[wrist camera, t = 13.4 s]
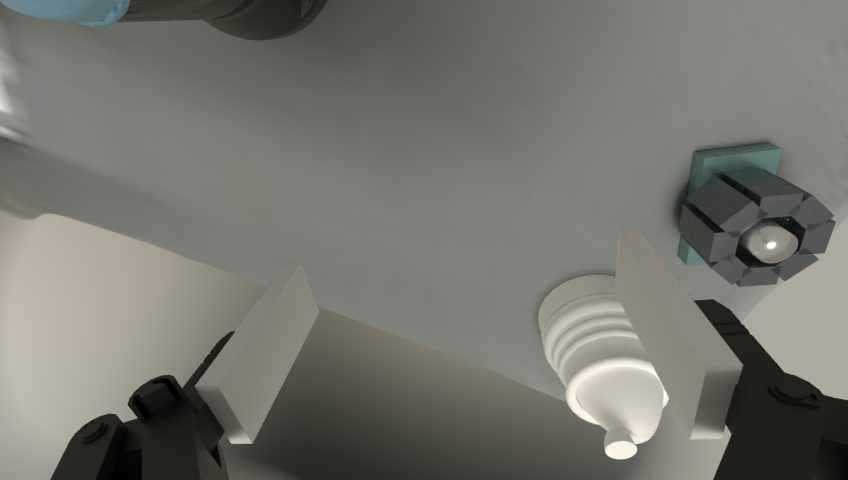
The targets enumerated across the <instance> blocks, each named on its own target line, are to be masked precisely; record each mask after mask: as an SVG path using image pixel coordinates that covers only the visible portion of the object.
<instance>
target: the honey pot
mask: <svg viewBox="0 0 848 480" xmlns="http://www.w3.org/2000/svg"><path fill="white" fill-rule="evenodd" d="M614 289H615V277H614V276H610V275H595V274H593V275H587V276H581V277H577V278H574V279H571V280H569V281H566V282H564V283H562V284H561V285H559V286H558V287H556V288H555V289H553V290H552V291H551V292H550V293H549V295H548V296H547V297H546V298H545V299H544V301H543V303H542V305H541V307H540V309H539V315H538V322H539V327H540V332H541V337H542V342H543V346H544V351H545V356H546V358H547V360H548V362H549V363H550V365H551V367H552V368H553V370H555V371H556V372H557V374H558V376H559V377H560V379H561V381H562V382H563V384H564V386H565V387H566V391H565V394H566V400H567V403H568V405H569V406H570V408H571V410H572V411H573V412H574V413H575V414H577V415H578V416H579V417H580V418H582V419H584V420H586V421H588V422H590V423H594V424H598V425H601V426H602V427H603V428H604V429H606V430H607V431H608V432H607V433H606V436H605V440H604V447H605V452H606V454H607V455H608V456H609V457H611V458H614V459H625V458H630V457H632V456H633V455H634V454H635V453H636V452H637V447H636V445H635V444H639V443H642V442H645V441H647V440H649V439H650V438H651V437H652V435H653V434H654V433H655V431H656V429H657V427H658V424H659V422H660V418H661V414H662V409H663V407H664V406H665V405H666V404H667V402H668V400H669V397H668V395H667V393H666V391H665V389H664V387H663V385H662V383H661V381H660V379H659V377H658V375H657V373H656V371H655V369H654V367H653V366H652V364H651V362H650V360H649V358H648V356H647V354H646V352H645V350H644V348H643V346H642V344H641V342H640V340H639V338H638V336H637V334H636V332H635V330H634V328H633V326H632V324H631V323H630V321H629V319H628V317H627V315H626V313H625V311H624V309H623V307H622V305H621V303H620V301H619V299H618V297H617V295H616V293H615V291H614ZM577 400H578V401H577ZM578 402H579V403H580V404H581V405H582V406H583V407H582V406H581V405H580V404H579V403H578Z"/></svg>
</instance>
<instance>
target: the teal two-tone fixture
mask: <svg viewBox="0 0 848 480" xmlns="http://www.w3.org/2000/svg"><path fill="white" fill-rule="evenodd" d="M781 153H782V148H779V147H777V146H775V145H773V144H770V143H761V144H753V145H745V146H737V147H729V148H721V149H713V150H705V151H697V152H694V156H693V163H692V169H691V175H690V182H689V188H688V195H687V197H689V196H690V195H691V194H692V193H693V192H695V191H696V190H697V189H698V188H699V187H701V186H702V185H703V184H704V183H705V182H707V181H708V180H709V179H710V178H711V177H713V176H714V175H715V176H716V177H718V178H719V179H721V174H722V172H725V171H733V170H742V169H751V168H759V169H761V170H767V171H768V172H770V173H772V174H774V175H776V172H777V168H778V164H779V160H780V157H781ZM690 203H691V202H690V201H689V200H688V199H687V201H686V204H690ZM681 235H682V234H681ZM738 244H740V245H741V246H742V247H743V248H744V249H745V250H747V251H748V252H749V253H750V254H751V255H755V256H756V257H757V258H758V259H759V260H760V261H762V262H764V263H778V262H781V261H784V260H786V259H787V258H789V257H790V256H791V255H792V254H793V253H794V252H795V251H796V249H797V247H798V240H797V238H796V237H795V236H794V235H793V234H791V233H790V232H788V231H787V230H785V229H784V228H783V227H781V226H780V225H778V224H777V223H775V222H774V221H772V220H771V219H770V218H763V219H761V220H760V221H759V222H757V223H756V224H755V225H753V226H752V227H750V228H749V229H748V230H746V231H745V232H744V233H742V234H741V235H740V236H739V240H738ZM678 256H679V258H680V259H681V260H682V261H683V262H684V263H685V265H699V264H707V263H706V262H705V261H704V260H703V259H702V258H701V257H700V256H699V255H698V254H697V253H696V251H695V250H694V249H693V248H692V247H691V246H690V245H689V244H688V243H687V242H686V241H685V240H684V239H683V238H682V237H681V239H680V246H679V252H678Z"/></svg>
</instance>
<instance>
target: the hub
mask: <svg viewBox="0 0 848 480" xmlns="http://www.w3.org/2000/svg"><path fill="white" fill-rule="evenodd" d="M687 199H688V200H689V201H690V202H691V203H690V204H683V206H682V213H681V219H680V226H679V231H680V232H681V234H682V235H681V237H682V238H683V239H684V240H685V241H686V242H687V243H688V244H689V245H690V246H691V247H692V248H693V249H694V250H695V251H696V253H697V254H698V255H699V256H700V257H701V258H702V259H703V260H704V261H705V262H706V263H707V264H708V265H709V266H710V267H711V268H712V269H713V270H714V271H715V272H717V273H718V274H719V275H720V276H722V277H723V278H724V279H725V280H727V281H728V282H729V283H730V284H732V285H733V284H734V283H736V284H737V285H738V286H739V287H742V286H757V285H771V284H776V283H777V280H778V277H780V278H781V279H783V280H784V281H786V280H788V279H789V278H791V277H792V276H794V275H795V274H797V273H798V272H800V271H801V270H803V269H805V268H806V267H808V266H809V265H811V264H813V263H814V262H816V261H817V260H818V258H817V257H815V256H814V255H813V254H819V253H825V250H826V248H827V245H828V242H829V239H830V236H831V234H832V231H833V228H834V226H835V223H836V222H835V221H833V220H831V219H830V218H832V217H833V216H834V215H833V214H832V213H831V212H830V211H829V210H828V209H827V208H826V207H825V206H824V205H823V204H821V203H820V202H819V201H818V200H817V199H816V198H815V197H814V196H813V195H811V194H810V193H808V192H806V191H804V190H802V189H800V188H798V187H796V186H795V185H793V184H791V183H789V182H787V181H785V180H783V179H782V178H780V177H778V176H776V175H774V174H772V173H770V172H768V171H767V170H761V169H759V168H751V169H742V170H733V171H725V172H722V174H721V179H719V178H718V177H716V176H715V175H714V176H713V177H711V178H710V179H709V180H708V181H707V182H705V183H704V184H703V185H702V186H701V187H699V188H698V189H697V190H696V191H695V192H693V193H692V194H691V195H690V196H689V197H687ZM763 218H770V219H771V220H772V221H774V222H775V223H777V224H778V225H780V226H781V227H783V228H784V229H785V230H787V231H788V232H790V233H791V234H793V235H794V236H795V237H796V238H797V240H798V247H797V249H796V251H795V252H794V253H793V254H792V255H791V256H790V257H789V258H787V259H786V260H784V261H781V262H778V263H764V262H762V261H760V260H759V259H758V258H757V257H756V256H755V255H751V254H750V253H749V252H748V251H747V250H745V249H744V248H743V247H742V246H741V245H740V244H738V240H739V236H740V235H741V234H742V233H744V232H745V231H746V230H748V229H749V228H750V227H752V226H753V225H755V224H756V223H757V222H759V221H760V220H761V219H763Z"/></svg>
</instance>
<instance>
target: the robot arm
mask: <svg viewBox="0 0 848 480" xmlns="http://www.w3.org/2000/svg"><path fill="white" fill-rule="evenodd" d="M326 1H327V0H0V2H1V3H3V4H4V5H5V6H7V7H8V8H11V9H13V10H15V11H17V12H20V13H23V14H26V15H29V16H32V17H35V18H40V19H45V20H51V21H66V22H77V23H79V24H82V25H88V26H91V27H97V26H100V25H101V26H107V25H111V24H113V23H115V22H140V21H172V20H204V21H205V22H207V23H209V24H211V25H212V26H214V27H215V28H217V29H219V30H221V31H223V32H225V33H228V34H230V35H233V36H236V37H239V38H244V39H249V40H271V39H278V38H283V37H287V36H290V35H292V34H294V33H297V32H298V31H300V30H302V29H303V28H305V27H306V26H307V25H308V24H310V23H311V22H312V21H313V20H314V19H315V17H316V16H317V15H318V14H319V12H320V11H321V10H322V8H323V6H324V5H325V3H326ZM614 291H615V293H616V295H617V297H618V299H619V301H620V303H621V305H622V307H623V309H624V311H625V313H626V315H627V317H628V319H629V321H630V323H631V324H632V326H633V328H634V330H635V332H636V334H637V336H638V338H639V340H640V342H641V344H642V346H643V348H644V350H645V352H646V354H647V356H648V358H649V360H650V362H651V364H652V366H653V367H654V369H655V371H656V373H657V375H658V377H659V379H660V381H661V383H662V385H663V387H664V389H665V391H666V393H667V395H668V397H669V399H670V401H671V403H672V404H673V407H674V408H675V410H676V412H677V414H678V416H679V418H680V420H681V422H682V424H683V426H684V428H685V430H686V432H687V434H688V436H689V438H690V439H722V436H723V432H724V429H725V425H726V426H727V427H728V429H729V430H730V432H731V434H732V435H731V438H730V440H729V442H728V445H727V447H726V450H725V452H724V455H723V457H722V459H721V462H720V464H719V467H718V469H717V472H716V474H715V477H714V479H713V480H848V400H843V399H838V398H833V397H829V396H825V395H823V394H822V393H821V391H820V390H819V389H817V388H816V387H814V386H813V385H812V384H811V383H809V382H808V381H805V380H803V379H801V378H799V377H797V376H795V375H791V374H787V373H784V371H783V370H782V369H781V368H780V367H779V366H778V364H777V363H776V362H775V361H774V360H773V359H772V357H771V356H770V355H769V354H768V353H767V352H766V351H765V349H763V347H762V346H761V345H760V344H759V343H758V341H757V340H756V339H755V338H754V337H753V336H752V335H750V333H749V331H748V330H747V329H746V328H745V326H744V325H743V324H741V322H740V321H739V320H738V318H737V317H736V316H735V315H734V314H733V313H732V311H731V310H730V309H728V308H726V307H725V306H723V305H722V304H720V303H718V302H717V301H715V300H713V299H711V300H696V301H693V299H692V298H691V297H690V296H689V294H688V293H687V292H686V290H685V289H684V288H683V286H682V285H681V284H680V283H679V281H678V280H677V279H676V277H675V276H674V275H673V273H672V272H671V271H670V270H669V268H668V267H667V266H666V264H665V263H664V262H663V260H662V259H661V258H660V257H659V255H658V254H657V253H656V251H655V250H654V249H653V247H652V246H651V245H650V244H649V242H648V241H647V240H646V238H645V237H644V236H643V234H642V233H641V232H640V231H636V232H626V233H618V247H617V261H616V275H615V289H614ZM318 314H319V310H318V307H317V305H316V302H315V299H314V297H313V294H312V291H311V289H310V286H309V283H308V281H307V278H306V276H305V273H304V270H303V268H302V265H301V263H299V264H289V265H284V267H283V268H282V269H281V271H280V272H279V273H278V275H277V276H276V278H275V279H274V280H273V282H272V283H271V284H270V286H269V287H268V288H267V290H266V291H265V292H264V294H263V295H262V296H261V298H260V299H259V300H258V302H257V303H256V304H255V306H254V307H253V308H252V310H251V311H250V313H249V314H248V315H247V317H246V318H245V319H244V321H243V322H242V323H241V325H240V326H239V327H238V329H237V330H236V331H234V332H230V333H228V334H227V335H226V336H225V337H223V338H222V339H221V340H220V341H219V342H218V343H217V344H216V345H215V347H214V348H213V349H212V351H211V352H210V354H208V356H207V357H206V358H205V360H204V362H203V363H202V364H201V365H200V366H199V367H198V369H197V370H196V371H195V373H194V374H193V375H192V377H191V378H190V379H189V380H188V382H187V383H186V384H185V386H184V387H183V388H181V387H180V385H179V384H178V382H177V381H176V379H175V378H174V376H171V375H163V376H159V377H156V378H154V379H151V380H150V381H148V382H146V383H145V384H143V385H142V386H141V387H139V388H138V389H137V390H136V391H135V392H134V393H133V395H132V396H131V397H130V399H129V402H128V406H129V407H130V408H131V410H132V411H133V412H134V414H135V415H136V416H137V417H138V419H134V420H131V421H128V422H125V423H122V421H121V420H120V419H119V418H118V416H117V415H116V414H106V415H102V416H100V417H98V418H96V419H93V420H91V421H90V422H88V423H87V424H85V425H84V426H83V427H82V428H81V429H80V430H79V431H78V432H77V433H75V434H74V436H73V437H72V439H71V440H70V442H69V444H68V446H67V448H66V450H65V452H64V454H63V456H62V458H61V460H60V462H59V464H58V466H57V468H56V470H55V472H54V474H53V476H52V478H51V480H229V477H228V473H227V468H226V464H225V459H224V455H223V450H222V448H221V446H220V445H219V443H218V442H219V440H220V439H221V437H222V435H223V433H225V434H226V436H227V437H228V439H229V440H230V442H231V444H234V443H235V444H239V443H241V444H242V443H243V444H244V443H253V441H254V439H255V437H256V435H257V433H258V431H259V430H260V428H261V426H262V424H263V422H264V420H265V418H266V416H267V414H268V412H269V410H270V408H271V406H272V404H273V402H274V400H275V398H276V396H277V394H278V392H279V390H280V388H281V386H282V384H283V382H284V380H285V379H286V377H287V375H288V373H289V371H290V369H291V367H292V365H293V363H294V361H295V359H296V357H297V355H298V353H299V351H300V349H301V347H302V345H303V343H304V341H305V339H306V337H307V335H308V333H309V331H310V329H311V328H312V326H313V324H314V322H315V320H316V318H317V316H318Z"/></svg>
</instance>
